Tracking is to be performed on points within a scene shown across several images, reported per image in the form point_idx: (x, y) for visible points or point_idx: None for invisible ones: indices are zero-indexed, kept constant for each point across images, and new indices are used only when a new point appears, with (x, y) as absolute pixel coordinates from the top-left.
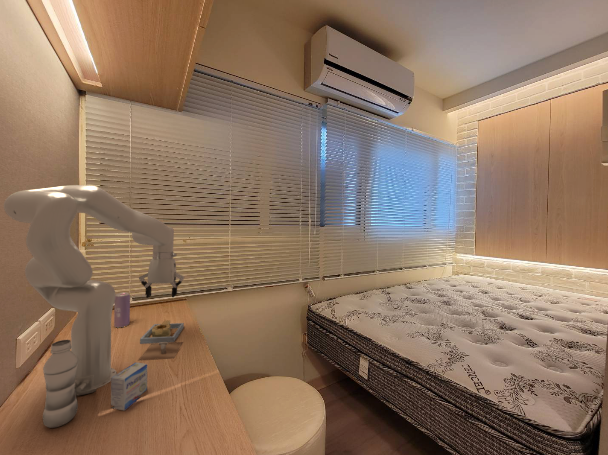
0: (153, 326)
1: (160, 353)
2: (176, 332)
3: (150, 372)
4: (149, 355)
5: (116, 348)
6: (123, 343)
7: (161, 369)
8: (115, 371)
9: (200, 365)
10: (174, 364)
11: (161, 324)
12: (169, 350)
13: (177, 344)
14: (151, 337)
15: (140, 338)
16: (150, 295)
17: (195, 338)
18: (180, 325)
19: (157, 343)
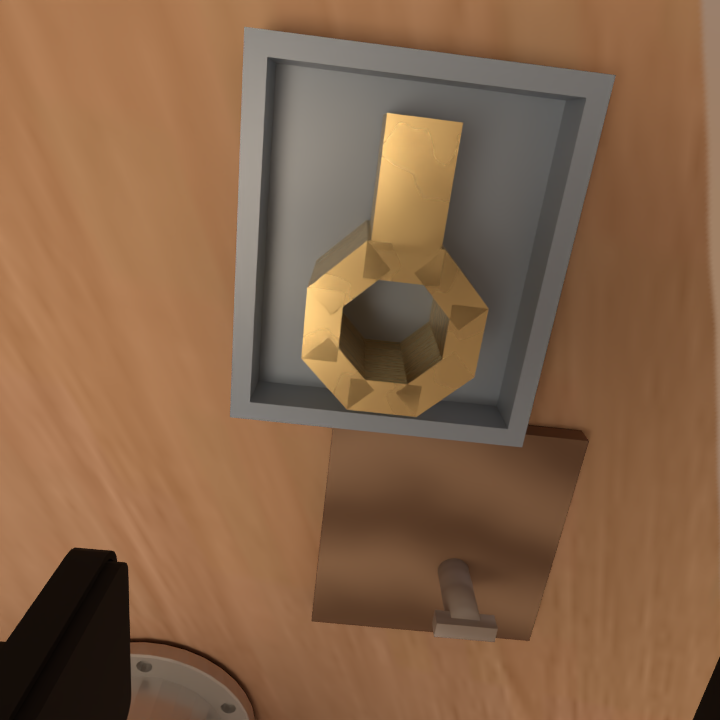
0: (260, 115)
1: (435, 571)
2: (538, 350)
3: (411, 696)
4: (367, 580)
5: (71, 381)
6: (79, 300)
7: (463, 685)
8: (234, 703)
9: (670, 693)
10: (529, 657)
11: (377, 256)
12: (490, 548)
13: (541, 474)
14: (323, 410)
15: (230, 409)
16: (122, 613)
17: (684, 343)
18: (575, 157)
19: None
